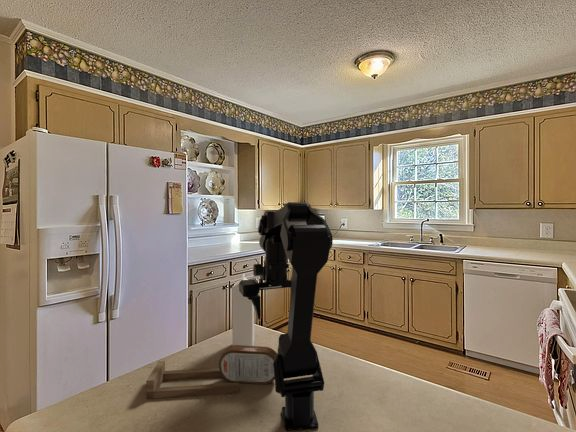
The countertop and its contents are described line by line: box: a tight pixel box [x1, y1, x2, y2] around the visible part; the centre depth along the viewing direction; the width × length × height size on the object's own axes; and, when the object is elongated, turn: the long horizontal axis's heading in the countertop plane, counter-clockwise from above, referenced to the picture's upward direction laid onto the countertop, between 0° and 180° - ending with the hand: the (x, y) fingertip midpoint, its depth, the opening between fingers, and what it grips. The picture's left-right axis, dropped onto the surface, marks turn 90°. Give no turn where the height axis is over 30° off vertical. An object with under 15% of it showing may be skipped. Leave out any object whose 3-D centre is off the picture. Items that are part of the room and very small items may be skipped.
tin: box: [218, 345, 278, 385], centre depth 76 cm, size 15×3×8 cm, turn 84°
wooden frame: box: [145, 360, 240, 400], centre depth 74 cm, size 9×20×4 cm, turn 96°
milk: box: [231, 272, 255, 346], centre depth 95 cm, size 6×6×22 cm
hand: (275, 316), depth 83 cm, fingers open, 9 cm apart
